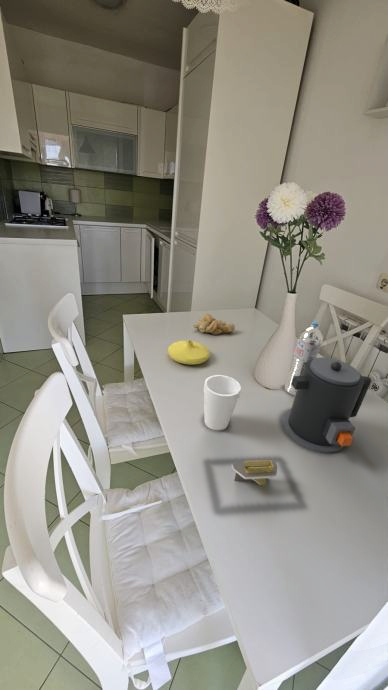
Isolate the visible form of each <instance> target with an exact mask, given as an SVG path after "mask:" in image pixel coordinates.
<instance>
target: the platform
mask: <svg viewBox="0 0 388 690" xmlns="http://www.w3.org/2000/svg"><path fill="white" fill-rule="evenodd" d="M231 468H232V471H234V472H235V475H234V479H233V481H234V482H238V481H254V482H255V483H256V484H258V485H259V486H264V487H265V486H266V482H267V480H269V479H274V478H276V477H277V475H278V474H277V473H278V464H277V462H276V461H275V460H271V459H265V460H264V459H263V460H245V461H238V462H237V461H235V462H232V463H231Z"/></svg>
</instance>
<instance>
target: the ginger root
mask: <svg viewBox="0 0 388 690" xmlns="http://www.w3.org/2000/svg"><path fill="white" fill-rule="evenodd" d="M192 326H193V328H194V329H198V331H199V332H200V333H210V334H211V335H215V336H216V335H219V334H227V333H232V332H234V330H235V324H234V323H232V322H231V323H226V321H223V320H222V319H221V320H219V319H218V320H217V319H216V318H215V317H213V316H212V315H211V314H210V313H207V312H206V313H205V314H204V315H203V317H202V318H199V319H198V322H197V324H194V325H192Z"/></svg>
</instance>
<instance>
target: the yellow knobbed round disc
mask: <svg viewBox="0 0 388 690" xmlns="http://www.w3.org/2000/svg"><path fill="white" fill-rule="evenodd" d="M167 353H168V357H169V358H171V359H172V360H173V361H174V362H176V363H180V364H184V365H200V364H202V363H205V362H206V361H208V359H209V358H210V356H211V352H210V349H209V348H208V346H206V345H204V344H203V343H201V342H197V341H193V340H191V339H188V340H179V341H175V342H173V343H171V344H170V345H169V347H168V348H167Z"/></svg>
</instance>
